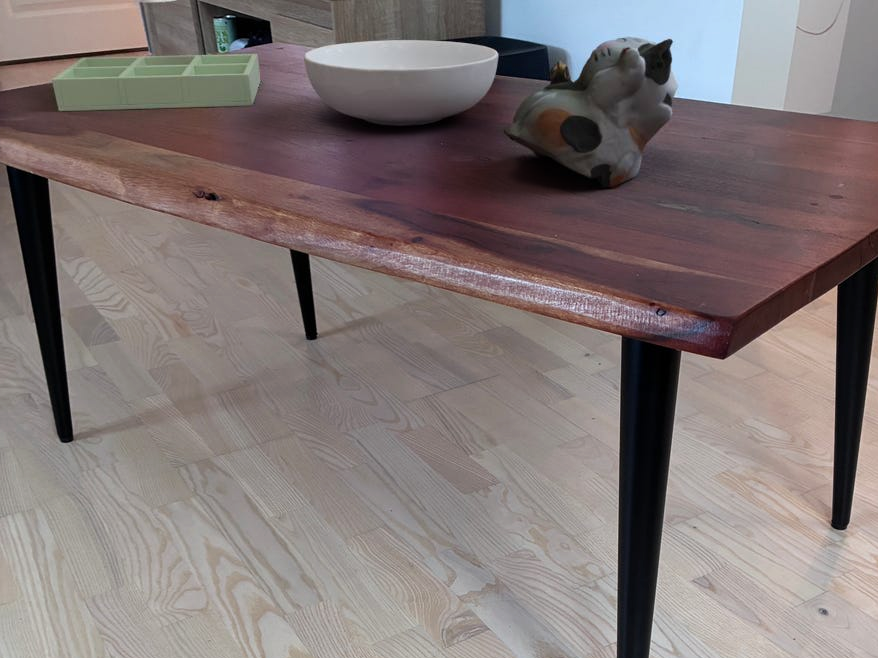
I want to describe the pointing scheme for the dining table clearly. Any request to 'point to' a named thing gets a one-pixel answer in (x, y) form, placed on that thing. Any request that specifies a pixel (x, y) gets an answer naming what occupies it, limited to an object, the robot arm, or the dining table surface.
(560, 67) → the lucky cat figurine
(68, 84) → the compartment tray
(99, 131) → the dining table surface
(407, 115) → the serving bowl
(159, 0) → the chess piece
